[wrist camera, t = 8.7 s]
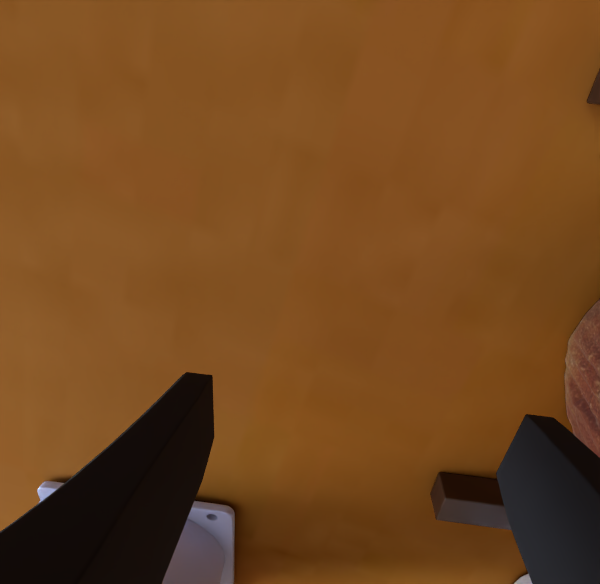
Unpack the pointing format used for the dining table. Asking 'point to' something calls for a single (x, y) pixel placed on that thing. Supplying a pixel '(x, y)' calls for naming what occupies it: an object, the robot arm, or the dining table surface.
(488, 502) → the dark gray u-shaped frame
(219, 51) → the dining table surface
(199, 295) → the dining table surface
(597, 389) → the bread roll
